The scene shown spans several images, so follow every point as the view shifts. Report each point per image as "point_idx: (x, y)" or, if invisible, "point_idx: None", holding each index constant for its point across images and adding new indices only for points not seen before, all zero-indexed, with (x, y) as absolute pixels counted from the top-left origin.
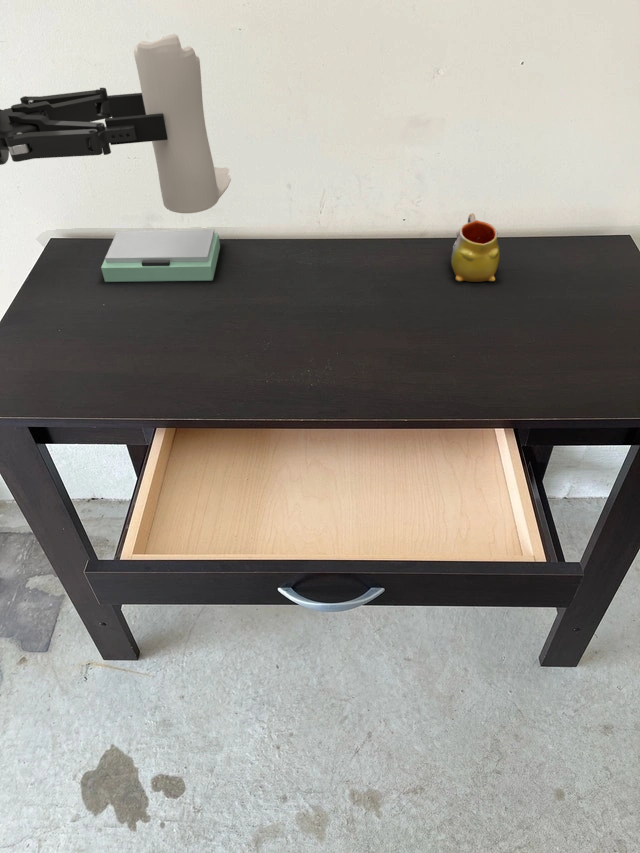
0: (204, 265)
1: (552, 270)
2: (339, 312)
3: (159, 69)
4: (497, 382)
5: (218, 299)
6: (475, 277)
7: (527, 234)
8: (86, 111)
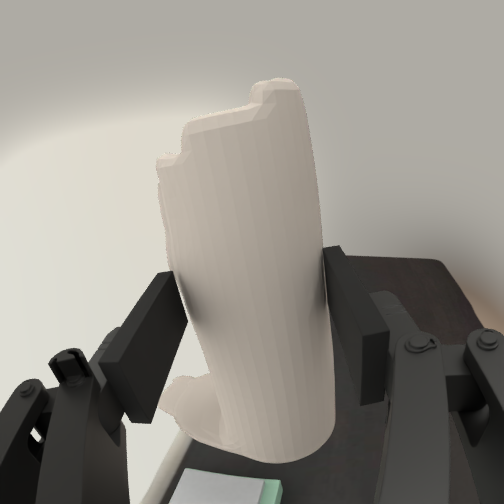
0: (275, 487)
1: None
2: None
3: (309, 138)
4: (433, 292)
5: (332, 480)
6: None
7: None
8: (108, 466)
